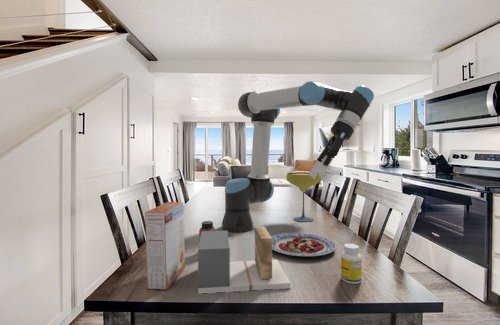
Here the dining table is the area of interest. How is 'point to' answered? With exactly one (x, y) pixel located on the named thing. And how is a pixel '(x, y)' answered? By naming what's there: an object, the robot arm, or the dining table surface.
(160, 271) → the cracker box
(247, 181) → the robot arm
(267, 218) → the dining table surface
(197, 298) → the dining table surface
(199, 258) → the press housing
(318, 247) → the ceramic plate
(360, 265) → the supplement bottle
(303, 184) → the cocktail glass
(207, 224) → the supplement bottle
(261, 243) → the plate
